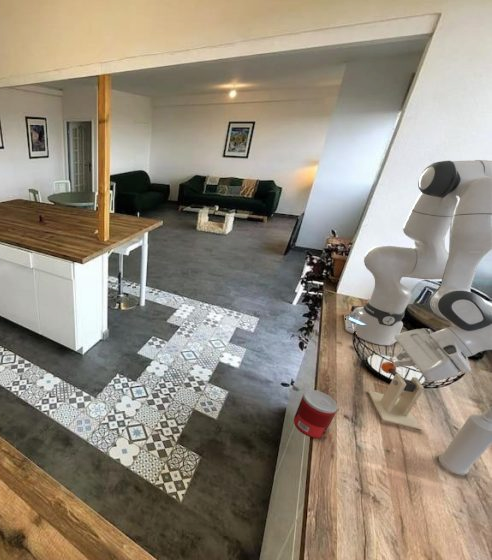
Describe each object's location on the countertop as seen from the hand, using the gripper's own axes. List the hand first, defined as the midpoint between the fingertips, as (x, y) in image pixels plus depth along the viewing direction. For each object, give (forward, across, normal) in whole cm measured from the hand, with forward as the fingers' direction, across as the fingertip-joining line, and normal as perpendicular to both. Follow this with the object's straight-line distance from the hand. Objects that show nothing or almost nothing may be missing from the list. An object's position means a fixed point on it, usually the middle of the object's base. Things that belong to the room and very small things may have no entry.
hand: (392, 362), depth 99 cm
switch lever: (+2, +5, +2) cm, 6 cm away
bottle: (+3, +26, +13) cm, 30 cm away
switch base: (+8, +10, +8) cm, 15 cm away
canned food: (+26, +26, -10) cm, 38 cm away
